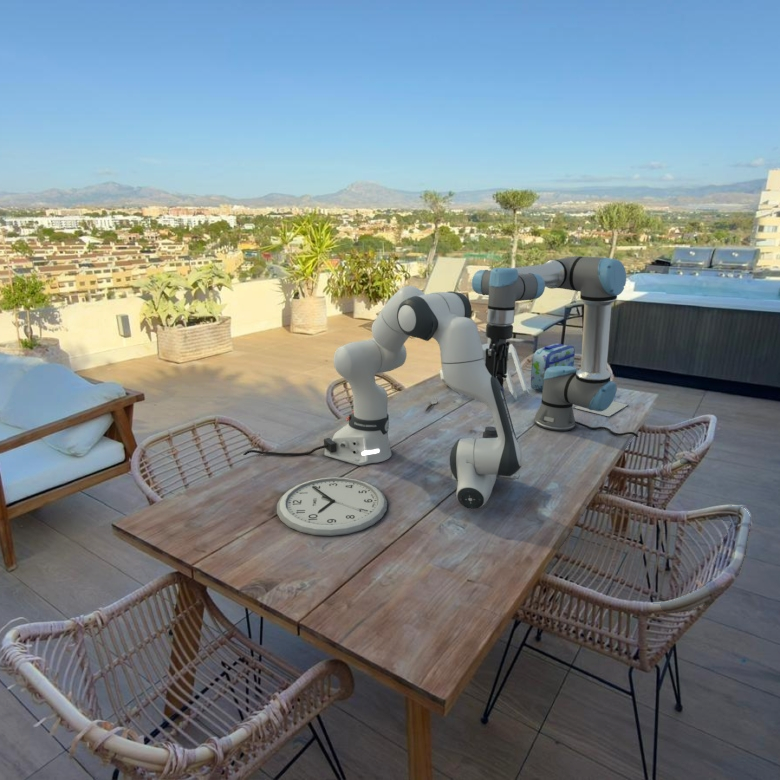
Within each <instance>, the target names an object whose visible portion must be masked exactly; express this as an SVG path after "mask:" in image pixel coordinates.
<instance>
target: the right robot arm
mask: <svg viewBox="0 0 780 780" xmlns="http://www.w3.org/2000/svg"><path fill="white" fill-rule="evenodd" d="M626 284H627V270H626V268H625V265H624V264H623V263H622V262H621V261H620V260H619V259H617V258H610V257H601V256H600V257H599V256H581V255H575V256H569V257H562V258H557V259H550V260H548V261H546V262H544V263H543V264H534V265H527V266H519V267H494V268H492V269H491V270H488V269H479V270H477V271H476V272H475V273H474V275H472V278H471V287H472V290H473V291H474V293H476V294H478V295H482V296H488V297H487V298H488V299H487V300H488V302H487V310H486V311H485V314H486V322H487V324H486V325H485V336H486V338H488V339H490V342H489V349H487V348H486V361H485V366H486V368H487V370H488V372H489V373H490V375H491V376H493V377H495V378H497V379H498V381H499V383H500V385H501V386H503V387H504V379H506V378H507V375H505V374H506V373H507V365H508V363H509V360H508V350H509V345H510V344H511V342H510V341H507V342H506V340H510V339H512V338H513V334H514V326H513V324H514V323H515V309H516V302H522V301H524V302H525V301H533V300H536V299H539V298H541V297H542V296H543V294H544V292H545V289H546V288H548V289H551V290H552V289H562V290H568V291H574V292H579V293H580V295H579V297H580V301H581V302H583V304H584V307H583V324H582V342H581V360H580V368H579V369H578V368H577V367H576V366H573V367H572V366H554V367H550V368H547V369H546V371H545V374H544V378H543V379H544V382H543V390H541V391H542V394H541V402H540V405H539V407H538V410H537V411H536V413H535V417H534V424H535V425H536V426H537V427H539V428H542V429H544V430H549V431H556V432H567V431H572V430H574V429H575V428H576V425H579V426H581V427H584V428H586V429H589V430H606V431H608V432H609V433H610V434H612V435H614V436H621V437H622V436H627V435H633V436H634V437H636V438H639V435H638V434H637V433H635V432H633V431H627V432H626V431H625V432H615V431H613V430H611V428H609V427H606V426H596V427H593V426H590V425H587V424H584V423H582V422H579V421H576V418H575V417H576V416H575V413H574V407H573V405H574V406H580V407H584V408H587V409H589V410H595V411H604V410H606V409H607V408H608V407H609V406H610V405H611V403H612V401H614V400H615V398H616V394H617V389H618V387H617V384H616V382H615V381H613V380H611V375H612V374H611V372H610V371H609V370H608V369H607V367H608V355H609V343H610V331H611V330H610V329H611V317H612V306H613V305H612V304H613V303H614V302H615V301H617V299H618V296H619V295H621V294H622V293H623V291H624V290H625V287H626Z"/></svg>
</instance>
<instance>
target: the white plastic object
mask: <svg viewBox="0 0 780 780" xmlns="http://www.w3.org/2000/svg"><path fill="white" fill-rule="evenodd" d="M507 340H508V339H506V342H508V341H507ZM489 345H490V343H488V342H487V343H482V348H483V356H484V362H485V361H486V348H487V349H489ZM510 360H513V363H514V366H515V369H516V372H517V376H518V380H519V382H520V385H521V389H522V391H523V393H524V395H525V396H526V397H528V396H531V395H530V390H529V388H528V387H529V386H528V384H527V381H526V378H525V375H524V371H523V369H522V368H523V367H522V366H521V362H520V359H519V355H518V352H517V349H516V347H515V346H514V345H513V343H510V345H509V350H508V361H510ZM438 372H439V376H440V381H442V383H443V384H444V385H445V386H448V385H447V384H446V382H445V380H444V377H443V373H442V368H441V369H440V370H439V371H438ZM505 375H507V378H505V380H506V383H507V386H508V390H509V393H510V394H511V395H512V397H513V398H514V399H515V400H517V392H516V391H517V390H516V388H515V385H514V381H513V378H512V375H511V371H510V369H509V365H508V364H507V373H506V374H505Z"/></svg>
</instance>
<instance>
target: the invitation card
mask: <svg viewBox="0 0 780 780" xmlns="http://www.w3.org/2000/svg"><path fill="white" fill-rule="evenodd" d="M628 406H629V404H627V403H623V402H618V401H614V400H613V401H612V403H611V405H610V406H609V407H608V408H607V409H606V410H604V411H595V410H589V409H587V408H584V407H580V406H577V405H575V406H574V407H573V409H575V410H581V411H584V412H587V413H593V414H596V415H600V416H604V417H608V418H609V417H611V416H613V415H614V414H616V413H617V412H619V411H621V410H623V409H624V408H626V407H628Z"/></svg>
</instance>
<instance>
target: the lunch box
mask: <svg viewBox="0 0 780 780" xmlns="http://www.w3.org/2000/svg"><path fill="white" fill-rule="evenodd" d="M575 352H576V351H575V346H573V345H568V344H562V343H553V344H550V345H547V346H546V345H545V346H544V347H541V348H538V349H537V350H536V351H535V352H534V354H533V357H532V362H531V371H530V372H531V374H530V387H531V389H533V390H539V391H543V382H544V379H543V378H544V374H545V371H546V369H547V368H550V367H554V366H572V367H574V363H575Z"/></svg>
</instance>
